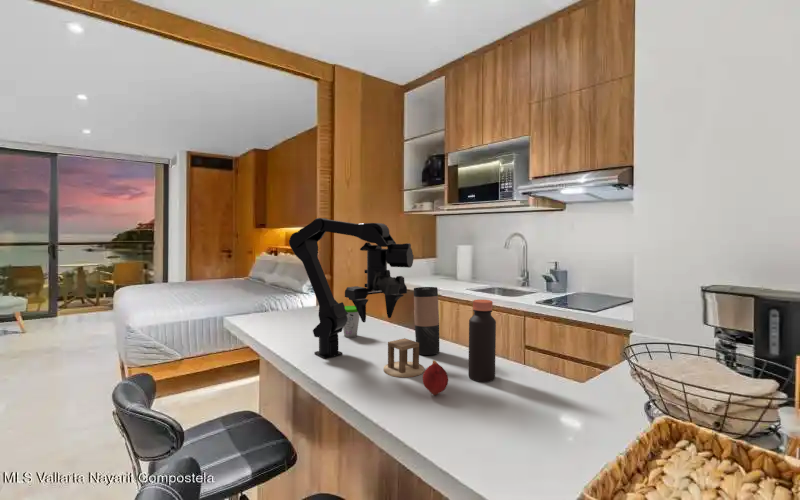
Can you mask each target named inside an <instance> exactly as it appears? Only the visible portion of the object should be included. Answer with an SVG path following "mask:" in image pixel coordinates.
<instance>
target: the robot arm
mask: <svg viewBox="0 0 800 500" xmlns="http://www.w3.org/2000/svg"><path fill="white" fill-rule="evenodd" d="M326 232H327V233H334V234H340V235H346V236H352V237H356V238H358V239H360V240H362V241H365V243H364V244H363V245H362V246H361V247H360V248H359V250H360V251H363V252H365V251H366V254H367V255H366V263H367V265H366V269H364V274H366V283H364V286H363V287H362V286H359V285H357V286H356V285H355V286H347V287H346V289H345V291H344V298H348V300H349V301H351V302H352V303H353V306H355V307H356V309H357V311H358V313H359V319H360V320H361V322H362V323H366V319H367V303H368V301H369V298H367V297H368V296H369V295H377V294H378V295H379V294H384V299H385V307H386V308H385V309H386V310H385V311H386V315H387V318H388V319H391V318H392V315H393V314H394V310H395V307H396V304H397V302H398V300H399V299H401V298H402V297H404V294H407V293H408V288H407V285H406V281H405V277H404V276H402V275H398V276H396V277H394V276H393V277H392V275H391V270H390V269H388V265H389V266H390V267H391V268H407V269H408V268H412V267H413V263H414V254H413V249H412V247H411V246H412V243H408V242H407V243H396V241H395V240H394V238H393V237H392V236H391V233H390V229H389V227H388V225H386V224H385V223H380V222H365V223H363V222H362V223H354V222H347V221H342V220H341V221H340V220H334V219H328V218H326V217H316V218H315V219H314V220H313V221H311V223H309V224H307V225H305V226H304V227H302V228H300V229H299V230H298V231H296V232H293V233H292V234H291V235H290V237H289V240H288V244H289V247H290V248H291V250H292V252H293V254H294V255H295V256H296V257H297V258H298V260H300V261H301V262H302V264H303V266H304V269H305V272H306V275H307V277H308V280H309V283H310V285H311V288H312V290H313V293H314V295H315V297H316V301H317V303H318V319H319V323H318V324H317V325H316V326H315V327H314V328H313V329H312V333H313V336H314V338H318V350H317V351H314V355H316V356H318V357H320V358H323V359H328V358H332V357H333V358H334V357H337V356H342V355H343V352H342V351H340V350H339V333H342V331H343V327H344V326H345V325H346V323H347V320H348V318H347V314H348V313H347V312H346V310H345V307H344V306H345V304H344V302H343V301H342V302H338V301H336V299H335V298H334V295H333V292H332V291H331V287H330V284H329V282H328V280H327V276H326V275H325V272H324V270H323V267H322V265H321V264H322V263H321V262H320V260H319V255H318V254H319V244H318V242H320V240H321V239H322V238H323V237H324V236H325V234H326ZM385 247H386V248H385Z"/></svg>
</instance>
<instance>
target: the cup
mask: <svg viewBox="0 0 800 500" xmlns="http://www.w3.org/2000/svg"><path fill="white" fill-rule="evenodd" d="M344 307H345V310H346V312H347V313H348V314H347V318H348V320H347V323H346V325H345V326H344V327H343V329H342V331H343V336H344V337H345V338H347V339H348V338H349V339H351V338H356V337H358V328H359V323H360V315H359V313H358V311H357V309H356V307H355V305H344Z"/></svg>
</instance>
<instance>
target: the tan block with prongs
mask: <svg viewBox="0 0 800 500" xmlns="http://www.w3.org/2000/svg"><path fill="white" fill-rule="evenodd" d="M396 349H397V350H399V351H398V362H399V372H400V373H405V372H406V364H407V361H408V350H411V349H412V362H413V368H414V369H419V364H420V354H419V343H418V342H416V340H415V341H414V340H411V339H408V338H405V337H404V338H399V339H396V340H391V341H388V342H387V364H388V367H389V368H394V362H395V350H396Z"/></svg>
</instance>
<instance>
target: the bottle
mask: <svg viewBox="0 0 800 500" xmlns="http://www.w3.org/2000/svg"><path fill="white" fill-rule="evenodd" d="M472 312H473V315H472V316H471V317H470V319H469V321H468V368H467V370H468V377H469V379H471V380H472V381H474V382H479V383H488V382H493V381H494V380H495V378H496V345H497V343H496V340H497V339H496V336H497V335H496V334H497V333H496V331H497V320H496V319H495V318H494V316H493V315H492V312H493V301H492V300H489V299H474V300H473V301H472Z"/></svg>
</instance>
